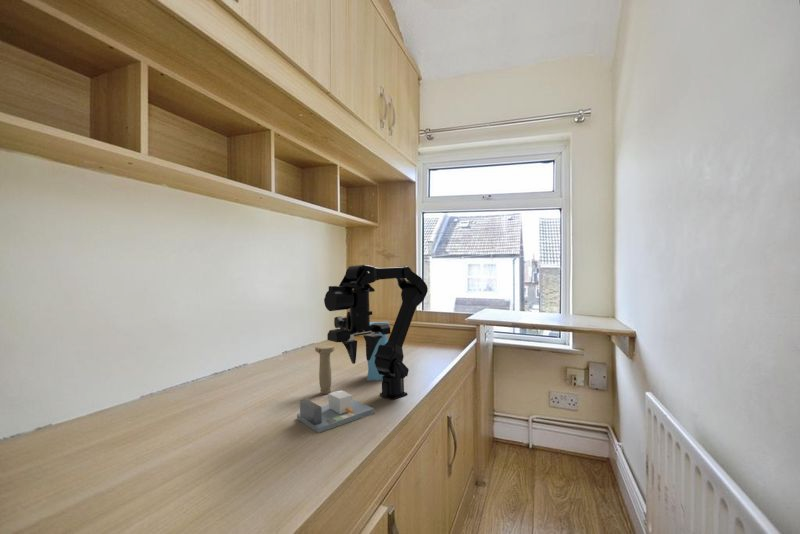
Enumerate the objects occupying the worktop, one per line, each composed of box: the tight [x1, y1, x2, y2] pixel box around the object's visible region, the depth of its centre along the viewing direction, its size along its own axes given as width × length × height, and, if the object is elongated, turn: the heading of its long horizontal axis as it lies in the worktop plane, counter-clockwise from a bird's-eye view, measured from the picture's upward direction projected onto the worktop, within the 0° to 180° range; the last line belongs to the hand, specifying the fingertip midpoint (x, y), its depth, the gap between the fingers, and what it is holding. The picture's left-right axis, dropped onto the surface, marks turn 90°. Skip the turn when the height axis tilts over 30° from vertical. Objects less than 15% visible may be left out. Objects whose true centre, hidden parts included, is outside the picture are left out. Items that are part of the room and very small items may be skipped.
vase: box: [366, 321, 390, 381], centre depth 129 cm, size 8×8×20 cm
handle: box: [314, 344, 335, 395], centre depth 113 cm, size 5×6×15 cm
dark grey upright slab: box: [299, 398, 322, 425], centre depth 88 cm, size 2×8×4 cm, turn 42°
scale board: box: [296, 398, 375, 434], centre depth 93 cm, size 17×12×2 cm
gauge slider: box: [327, 390, 354, 414], centre depth 93 cm, size 4×9×4 cm, turn 42°
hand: (361, 361), depth 99 cm, fingers open, 5 cm apart
